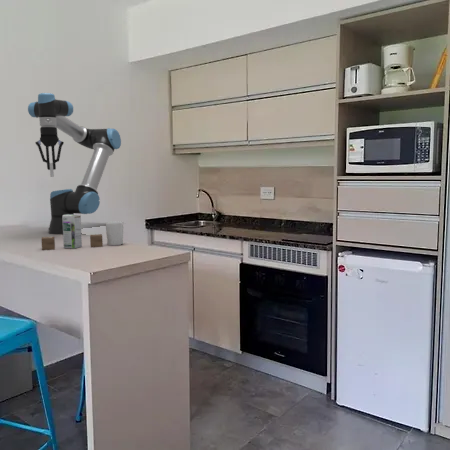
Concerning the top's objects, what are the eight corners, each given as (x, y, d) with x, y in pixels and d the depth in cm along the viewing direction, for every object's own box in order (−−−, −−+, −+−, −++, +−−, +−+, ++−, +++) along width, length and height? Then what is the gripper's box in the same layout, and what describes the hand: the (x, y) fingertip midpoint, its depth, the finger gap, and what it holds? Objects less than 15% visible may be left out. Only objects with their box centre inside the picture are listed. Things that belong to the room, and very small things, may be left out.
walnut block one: (90, 245, 203) (90, 234, 203) (102, 245, 205) (101, 233, 204) (91, 247, 199) (90, 236, 198) (102, 246, 200) (102, 235, 200)
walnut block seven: (42, 248, 197) (42, 236, 197) (54, 247, 199) (54, 236, 198) (42, 250, 192) (41, 238, 192) (54, 249, 194) (54, 237, 193)
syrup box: (63, 248, 197) (61, 215, 195) (72, 246, 202) (70, 213, 201) (73, 248, 195) (72, 215, 193) (82, 246, 201) (81, 214, 199)
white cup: (111, 246, 201) (110, 224, 199) (103, 244, 206) (102, 222, 205) (127, 244, 206) (126, 222, 205) (118, 242, 212) (118, 221, 210)
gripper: (33, 126, 210) (37, 177, 213) (63, 126, 214) (66, 176, 218) (33, 127, 216) (37, 176, 220) (62, 127, 221) (66, 175, 225)
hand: (52, 176), depth 219 cm, fingers closed
